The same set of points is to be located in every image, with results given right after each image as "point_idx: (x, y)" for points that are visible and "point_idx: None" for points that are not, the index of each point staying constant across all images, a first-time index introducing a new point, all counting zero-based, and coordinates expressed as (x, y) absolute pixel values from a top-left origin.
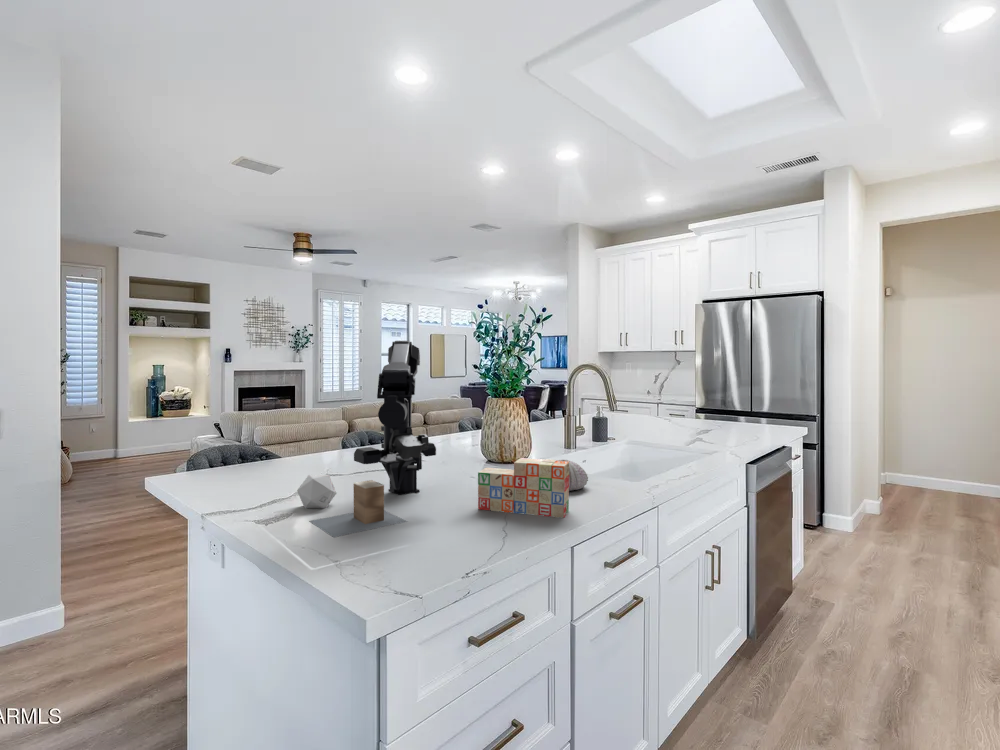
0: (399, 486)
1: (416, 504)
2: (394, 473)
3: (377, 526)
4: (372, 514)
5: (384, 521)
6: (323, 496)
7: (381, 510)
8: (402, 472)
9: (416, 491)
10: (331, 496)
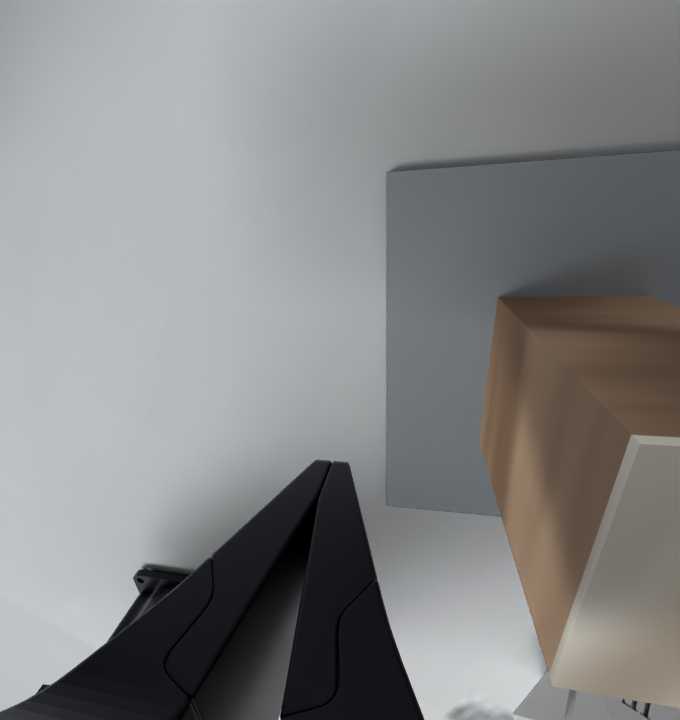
0: (308, 469)
1: (203, 451)
2: (360, 625)
3: (632, 183)
4: (620, 310)
5: (513, 269)
6: (642, 713)
7: (540, 317)
8: (210, 600)
9: (149, 574)
10: (567, 697)
